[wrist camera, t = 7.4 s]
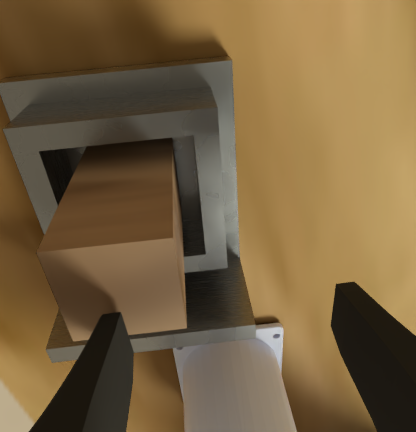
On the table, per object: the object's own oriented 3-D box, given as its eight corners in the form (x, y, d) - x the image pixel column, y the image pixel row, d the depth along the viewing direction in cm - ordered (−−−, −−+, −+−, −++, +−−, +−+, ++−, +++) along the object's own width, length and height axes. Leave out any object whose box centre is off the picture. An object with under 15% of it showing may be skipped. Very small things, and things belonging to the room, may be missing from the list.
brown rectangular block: (181, 208, 20) (187, 328, 13) (106, 216, 20) (73, 341, 13) (172, 137, 18) (172, 237, 11) (87, 145, 18) (35, 252, 11)
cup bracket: (237, 260, 24) (255, 338, 19) (77, 278, 23) (51, 362, 18) (229, 55, 17) (253, 91, 12) (4, 77, 17) (-67, 124, 12)
